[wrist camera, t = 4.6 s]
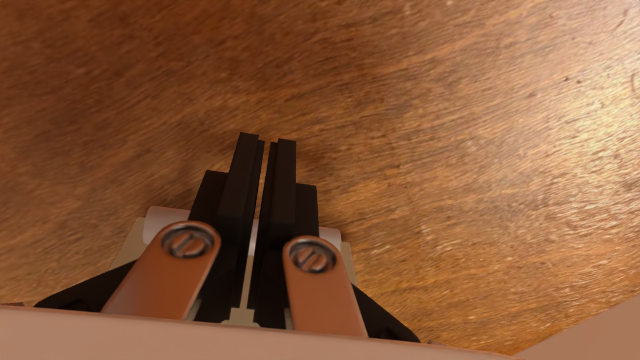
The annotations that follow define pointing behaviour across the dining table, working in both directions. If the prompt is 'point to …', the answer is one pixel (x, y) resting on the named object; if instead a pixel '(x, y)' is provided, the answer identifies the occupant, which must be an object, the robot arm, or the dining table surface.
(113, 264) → the drawer
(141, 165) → the dining table surface
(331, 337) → the robot arm
